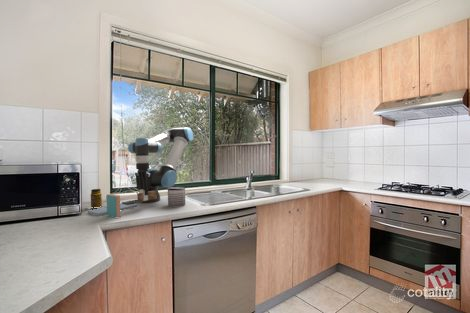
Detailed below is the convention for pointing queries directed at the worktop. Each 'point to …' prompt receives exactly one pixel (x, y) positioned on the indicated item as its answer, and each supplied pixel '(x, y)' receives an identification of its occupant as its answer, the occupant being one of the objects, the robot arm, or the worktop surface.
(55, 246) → the worktop surface
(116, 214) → the tile
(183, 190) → the can
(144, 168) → the robot arm
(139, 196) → the turner
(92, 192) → the condiment
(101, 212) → the board
